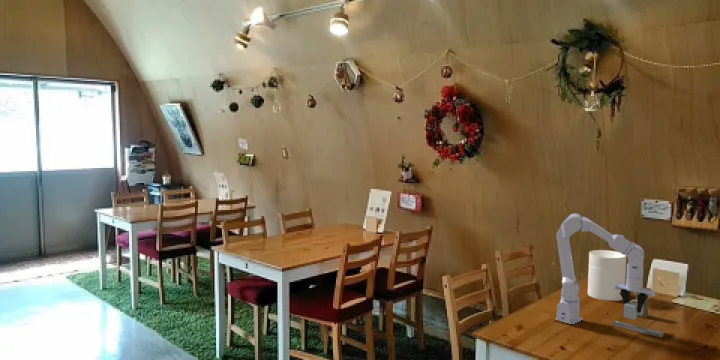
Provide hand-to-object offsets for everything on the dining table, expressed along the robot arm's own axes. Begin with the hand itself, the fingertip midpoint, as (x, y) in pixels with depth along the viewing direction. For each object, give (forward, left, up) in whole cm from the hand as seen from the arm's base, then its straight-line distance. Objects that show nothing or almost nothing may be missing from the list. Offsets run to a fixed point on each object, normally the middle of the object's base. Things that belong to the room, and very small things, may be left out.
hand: (633, 310), depth 219 cm
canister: (+36, +26, -8) cm, 45 cm away
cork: (+19, +4, -8) cm, 21 cm away
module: (0, 0, -2) cm, 2 cm away
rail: (0, -2, -8) cm, 8 cm away
